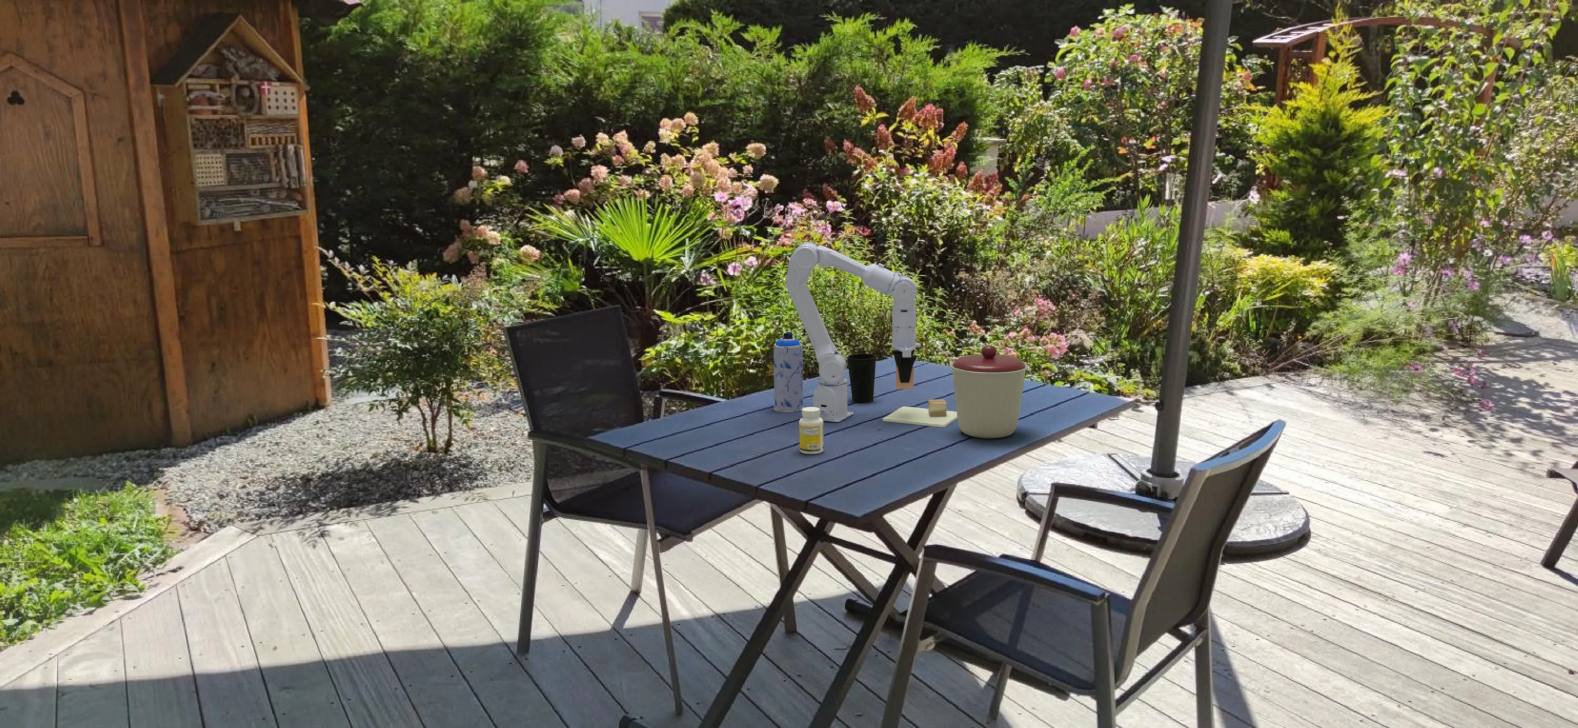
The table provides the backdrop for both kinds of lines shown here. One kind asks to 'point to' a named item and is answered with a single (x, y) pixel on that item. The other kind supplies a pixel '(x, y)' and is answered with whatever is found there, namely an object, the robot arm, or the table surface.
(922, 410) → the plate
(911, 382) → the terracotta brick
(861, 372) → the cup
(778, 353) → the aerosol can
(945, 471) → the table surface
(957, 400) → the canister
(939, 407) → the beech brick
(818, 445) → the supplement bottle
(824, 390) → the robot arm
